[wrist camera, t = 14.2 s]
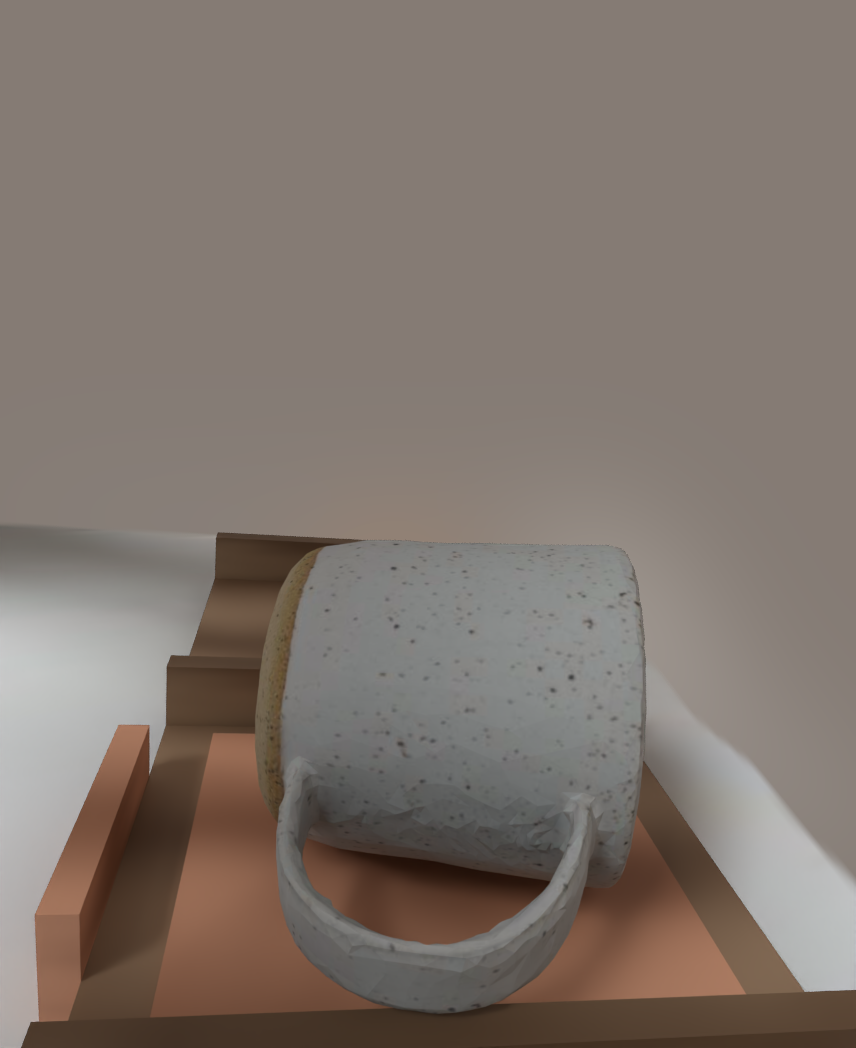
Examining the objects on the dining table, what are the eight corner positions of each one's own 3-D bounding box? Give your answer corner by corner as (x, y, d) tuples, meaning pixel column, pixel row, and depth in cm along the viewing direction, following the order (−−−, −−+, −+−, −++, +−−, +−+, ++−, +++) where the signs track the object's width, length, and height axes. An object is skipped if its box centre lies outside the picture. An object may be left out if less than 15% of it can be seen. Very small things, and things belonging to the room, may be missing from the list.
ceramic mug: (304, 770, 24) (329, 508, 23) (585, 805, 23) (617, 539, 23) (159, 1005, 13) (199, 534, 13) (670, 1080, 13) (733, 592, 12)
